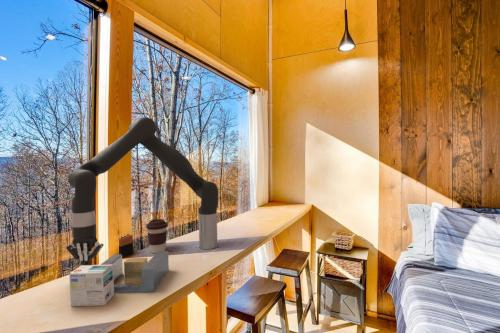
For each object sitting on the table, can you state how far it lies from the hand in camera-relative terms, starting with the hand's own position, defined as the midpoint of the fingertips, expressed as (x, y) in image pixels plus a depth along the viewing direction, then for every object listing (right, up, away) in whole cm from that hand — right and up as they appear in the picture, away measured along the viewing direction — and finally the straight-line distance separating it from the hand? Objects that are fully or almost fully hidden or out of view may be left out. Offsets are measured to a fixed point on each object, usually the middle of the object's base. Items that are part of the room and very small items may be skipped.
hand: (86, 269), depth 99 cm
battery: (+2, -4, +26) cm, 27 cm away
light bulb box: (+10, -5, -13) cm, 17 cm away
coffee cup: (+16, -3, +31) cm, 35 cm away
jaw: (+8, -4, 0) cm, 9 cm away
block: (+19, -4, 0) cm, 19 cm away
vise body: (+15, -4, 0) cm, 16 cm away
